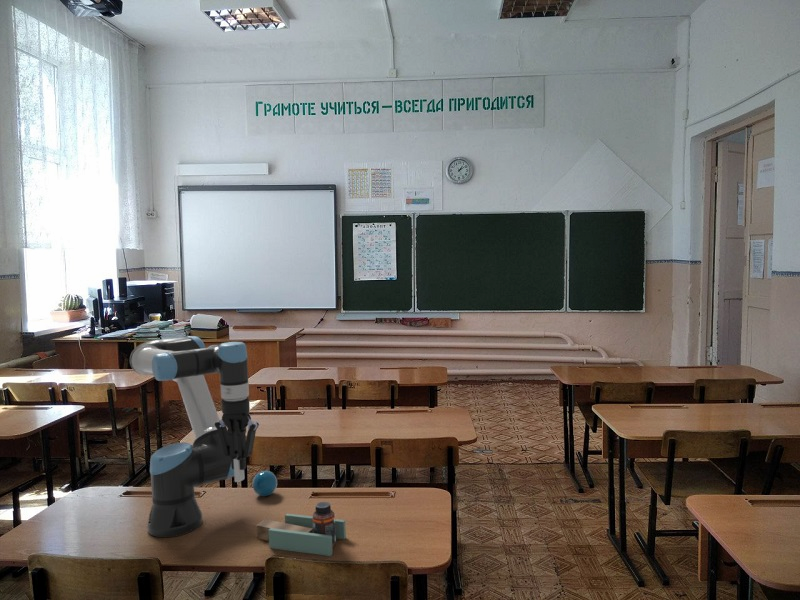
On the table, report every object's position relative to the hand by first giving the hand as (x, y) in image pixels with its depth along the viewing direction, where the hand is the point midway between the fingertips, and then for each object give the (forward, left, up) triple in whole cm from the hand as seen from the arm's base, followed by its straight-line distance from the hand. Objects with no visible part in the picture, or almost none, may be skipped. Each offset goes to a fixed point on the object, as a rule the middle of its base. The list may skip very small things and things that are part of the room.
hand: (239, 480), depth 168 cm
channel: (+20, 0, -16) cm, 26 cm away
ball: (-8, +26, -16) cm, 32 cm away
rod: (+13, 0, -16) cm, 21 cm away
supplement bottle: (+25, 0, -16) cm, 30 cm away
